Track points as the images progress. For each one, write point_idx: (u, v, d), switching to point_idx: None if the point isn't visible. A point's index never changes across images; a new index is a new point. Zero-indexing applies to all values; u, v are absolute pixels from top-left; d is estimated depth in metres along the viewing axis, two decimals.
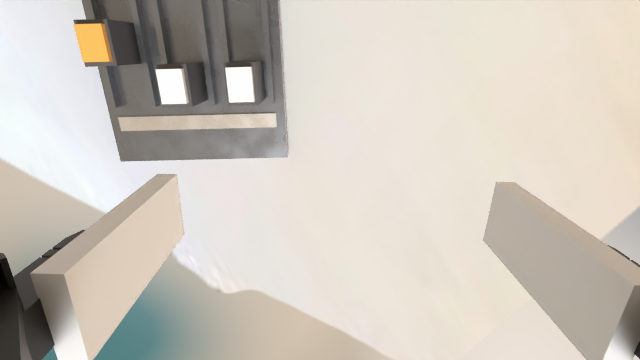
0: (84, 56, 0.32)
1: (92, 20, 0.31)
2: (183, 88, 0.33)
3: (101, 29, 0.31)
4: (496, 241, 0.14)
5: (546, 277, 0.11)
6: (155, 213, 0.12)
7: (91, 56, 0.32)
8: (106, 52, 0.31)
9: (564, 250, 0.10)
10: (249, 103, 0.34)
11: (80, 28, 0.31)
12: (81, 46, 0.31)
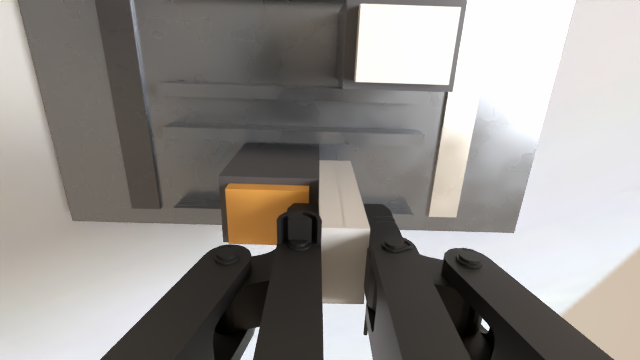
0: None
1: (222, 206, 0.14)
2: (416, 8, 0.11)
3: (238, 190, 0.13)
4: None
5: None
6: None
7: None
8: (287, 192, 0.13)
9: None
10: None
11: (236, 233, 0.14)
12: (274, 240, 0.14)
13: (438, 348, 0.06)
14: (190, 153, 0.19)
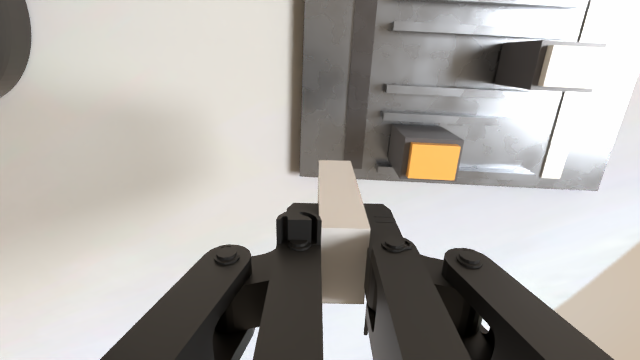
0: (447, 177, 0.24)
1: (404, 156, 0.24)
2: (582, 48, 0.21)
3: (419, 145, 0.23)
4: None
5: None
6: None
7: (449, 168, 0.23)
8: (448, 147, 0.23)
9: None
10: None
11: (413, 171, 0.23)
12: (435, 176, 0.24)
13: (438, 348, 0.06)
14: (389, 131, 0.28)
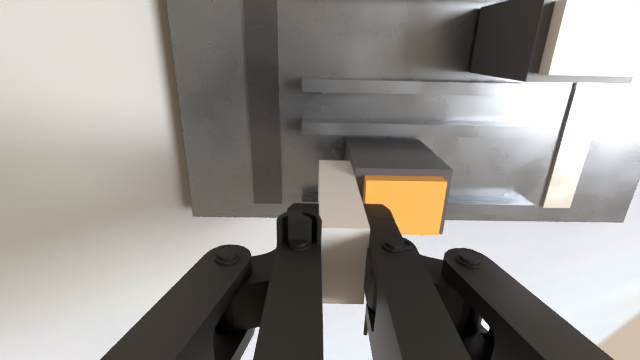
0: (427, 230, 0.14)
1: None
2: (619, 2, 0.11)
3: (378, 181, 0.14)
4: None
5: None
6: None
7: (430, 216, 0.14)
8: (426, 183, 0.14)
9: None
10: None
11: None
12: (407, 230, 0.14)
13: (438, 348, 0.06)
14: (317, 148, 0.19)
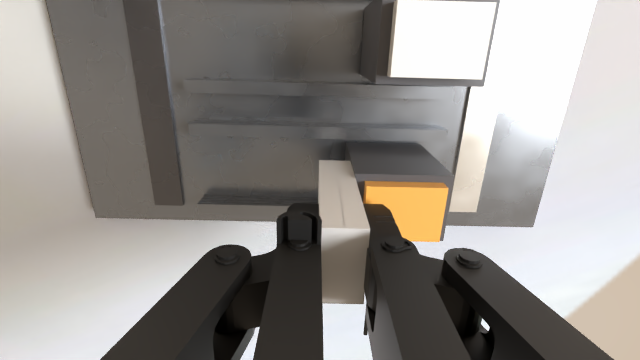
0: (428, 236, 0.14)
1: None
2: (452, 3, 0.11)
3: (378, 187, 0.13)
4: None
5: None
6: None
7: (430, 222, 0.14)
8: (427, 189, 0.13)
9: None
10: None
11: None
12: (407, 237, 0.14)
13: (438, 348, 0.06)
14: (214, 150, 0.19)
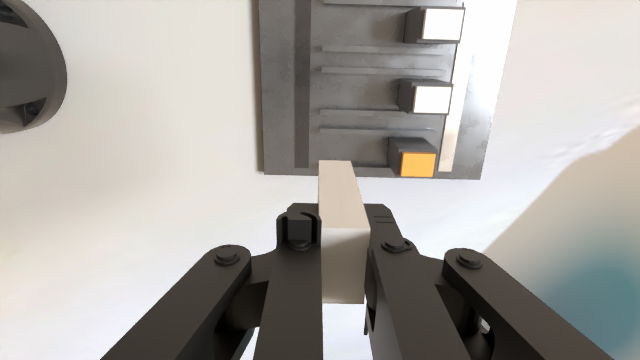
0: (427, 174, 0.35)
1: (398, 161, 0.35)
2: (436, 87, 0.32)
3: (408, 154, 0.34)
4: None
5: None
6: None
7: (428, 168, 0.35)
8: (427, 155, 0.34)
9: None
10: (462, 17, 0.30)
11: (405, 171, 0.35)
12: (419, 174, 0.35)
13: (438, 348, 0.06)
14: (326, 140, 0.40)
